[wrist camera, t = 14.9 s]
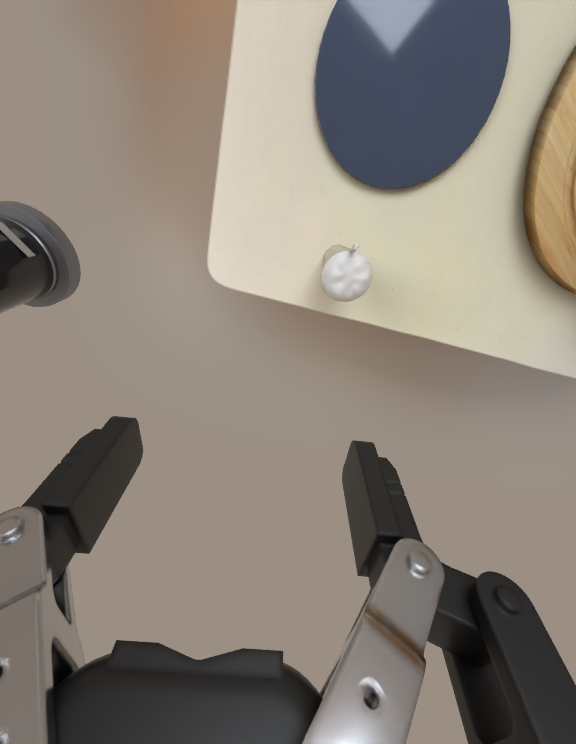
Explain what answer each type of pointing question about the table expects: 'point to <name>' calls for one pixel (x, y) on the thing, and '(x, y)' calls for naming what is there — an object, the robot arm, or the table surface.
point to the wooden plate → (554, 182)
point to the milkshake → (345, 273)
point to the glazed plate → (408, 84)
